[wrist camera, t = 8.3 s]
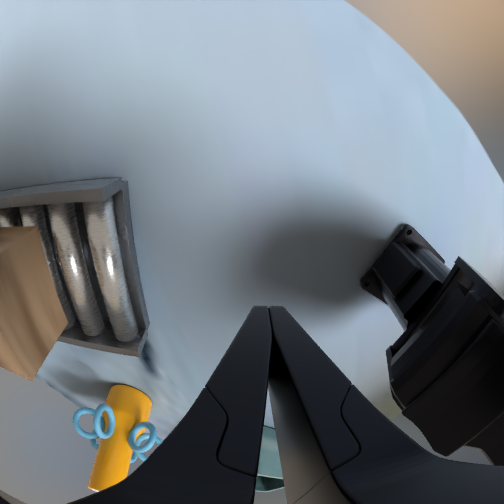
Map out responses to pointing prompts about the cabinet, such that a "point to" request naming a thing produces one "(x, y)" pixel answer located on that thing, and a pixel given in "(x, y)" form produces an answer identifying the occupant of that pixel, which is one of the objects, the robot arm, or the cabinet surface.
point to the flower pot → (269, 463)
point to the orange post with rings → (118, 434)
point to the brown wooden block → (26, 302)
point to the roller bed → (87, 258)
